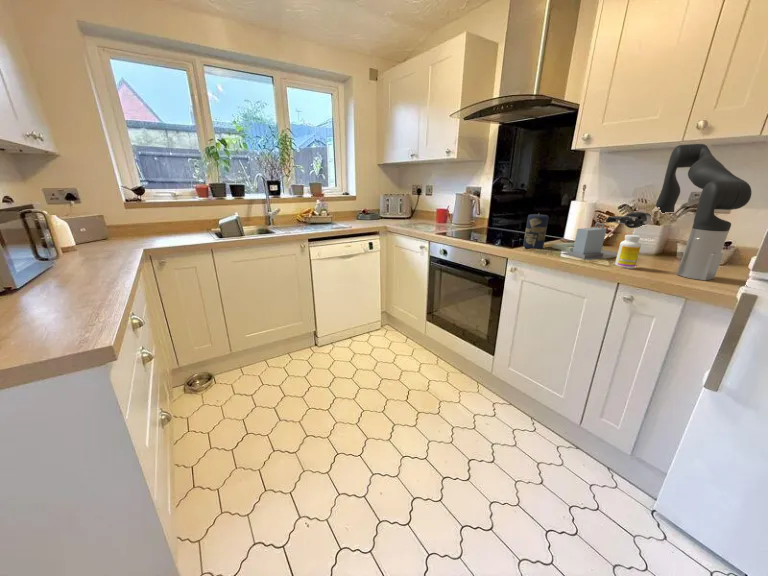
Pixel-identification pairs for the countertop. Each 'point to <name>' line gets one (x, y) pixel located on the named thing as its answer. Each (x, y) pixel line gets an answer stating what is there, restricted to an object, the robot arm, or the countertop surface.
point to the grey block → (589, 240)
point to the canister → (535, 231)
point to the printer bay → (592, 255)
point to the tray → (564, 246)
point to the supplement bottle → (628, 252)
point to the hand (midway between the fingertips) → (616, 221)
